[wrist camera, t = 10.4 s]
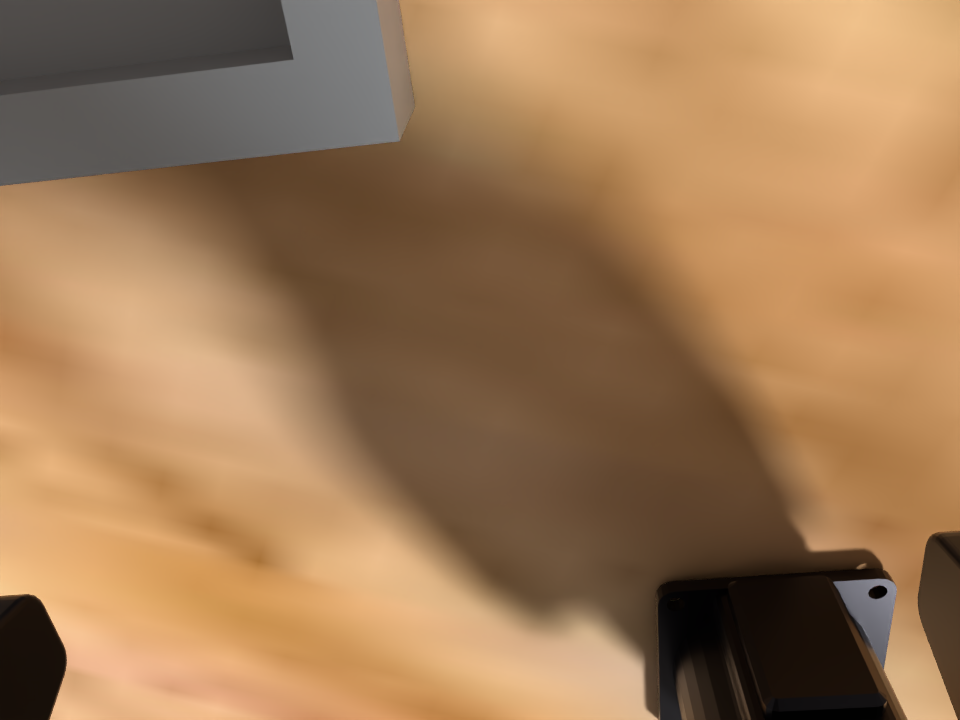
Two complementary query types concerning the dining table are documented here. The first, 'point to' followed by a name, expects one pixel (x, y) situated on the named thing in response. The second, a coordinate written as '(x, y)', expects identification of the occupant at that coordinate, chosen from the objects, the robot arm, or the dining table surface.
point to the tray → (194, 82)
